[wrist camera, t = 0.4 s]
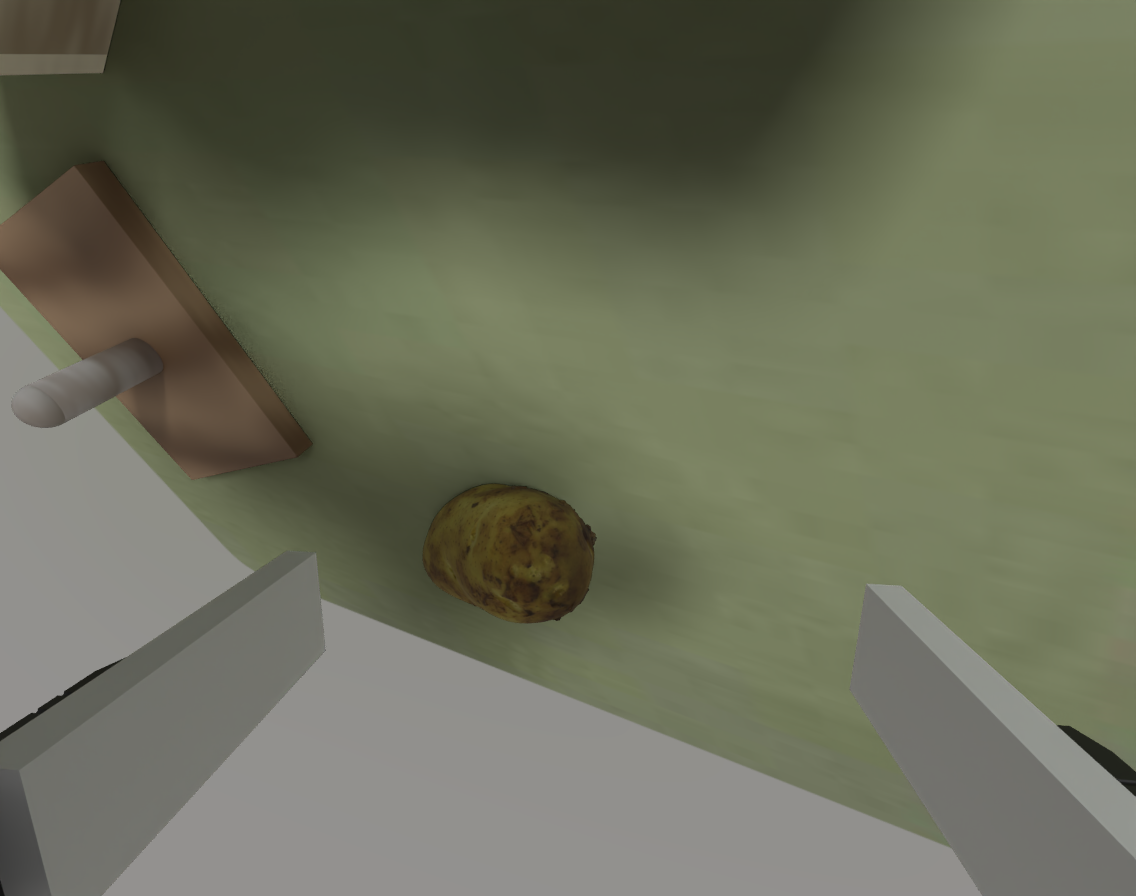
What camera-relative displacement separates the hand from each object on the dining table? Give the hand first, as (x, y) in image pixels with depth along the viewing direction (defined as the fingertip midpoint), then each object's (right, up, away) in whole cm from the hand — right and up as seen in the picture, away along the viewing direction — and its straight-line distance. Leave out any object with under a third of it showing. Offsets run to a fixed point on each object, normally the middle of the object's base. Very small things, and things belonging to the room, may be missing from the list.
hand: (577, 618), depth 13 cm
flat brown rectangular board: (-26, +11, +21) cm, 35 cm away
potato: (-3, 0, +21) cm, 21 cm away
